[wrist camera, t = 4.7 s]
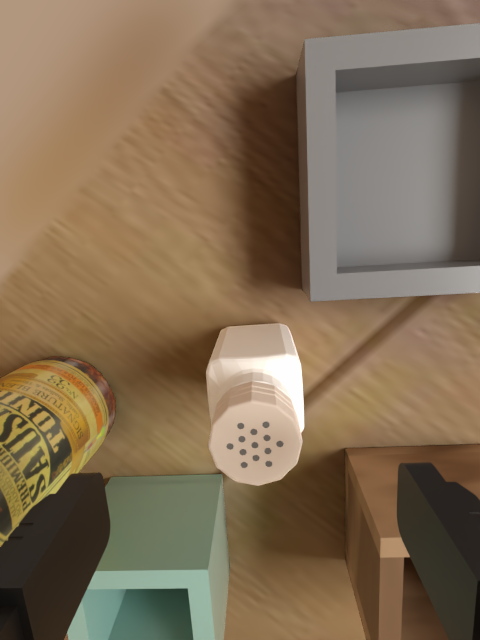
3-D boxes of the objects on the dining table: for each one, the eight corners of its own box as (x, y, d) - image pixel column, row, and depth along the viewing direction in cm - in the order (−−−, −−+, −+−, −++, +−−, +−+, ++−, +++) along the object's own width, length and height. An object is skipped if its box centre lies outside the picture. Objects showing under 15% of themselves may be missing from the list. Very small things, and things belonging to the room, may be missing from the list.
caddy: (522, 54, 18) (584, 13, 15) (503, 278, 21) (552, 288, 17) (296, 74, 19) (304, 39, 16) (302, 289, 21) (310, 301, 18)
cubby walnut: (483, 444, 23) (578, 534, 16) (473, 558, 25) (555, 683, 18) (345, 448, 23) (380, 537, 17) (345, 560, 25) (377, 682, 18)
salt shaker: (224, 390, 23) (202, 499, 14) (218, 324, 22) (189, 393, 13) (293, 386, 23) (316, 494, 14) (289, 320, 22) (312, 386, 13)
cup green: (222, 474, 24) (208, 569, 17) (229, 568, 26) (219, 690, 19) (111, 477, 25) (55, 571, 18) (125, 569, 26) (78, 689, 19)
